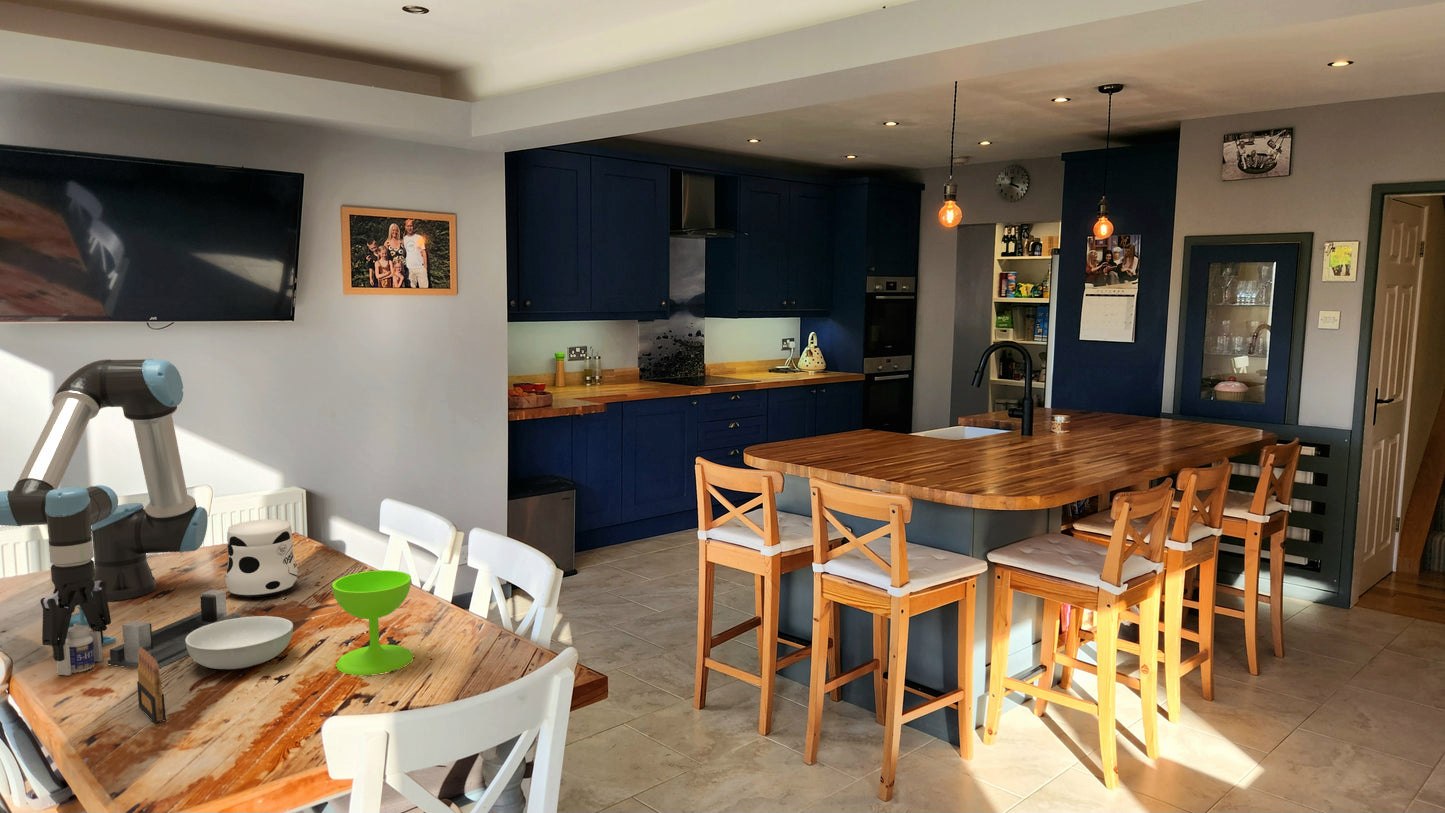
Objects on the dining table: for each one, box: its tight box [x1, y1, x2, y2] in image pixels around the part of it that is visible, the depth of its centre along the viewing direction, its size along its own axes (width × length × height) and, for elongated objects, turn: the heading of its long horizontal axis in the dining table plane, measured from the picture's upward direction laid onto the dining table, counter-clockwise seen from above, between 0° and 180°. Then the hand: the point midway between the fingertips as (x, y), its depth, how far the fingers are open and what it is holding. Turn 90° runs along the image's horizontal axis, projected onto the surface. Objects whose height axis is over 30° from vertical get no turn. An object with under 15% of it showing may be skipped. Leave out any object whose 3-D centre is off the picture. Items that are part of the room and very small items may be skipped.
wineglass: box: [331, 569, 414, 675], centre depth 206 cm, size 16×16×18 cm
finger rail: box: [107, 589, 241, 669], centre depth 215 cm, size 26×12×9 cm, turn 166°
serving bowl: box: [185, 615, 294, 670], centre depth 206 cm, size 21×21×7 cm
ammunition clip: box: [136, 647, 167, 724], centre depth 180 cm, size 11×2×12 cm, turn 45°
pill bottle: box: [65, 625, 96, 674], centre depth 201 cm, size 5×5×9 cm
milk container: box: [224, 518, 299, 598], centre depth 253 cm, size 17×17×18 cm
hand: (80, 667), depth 202 cm, fingers open, 7 cm apart
